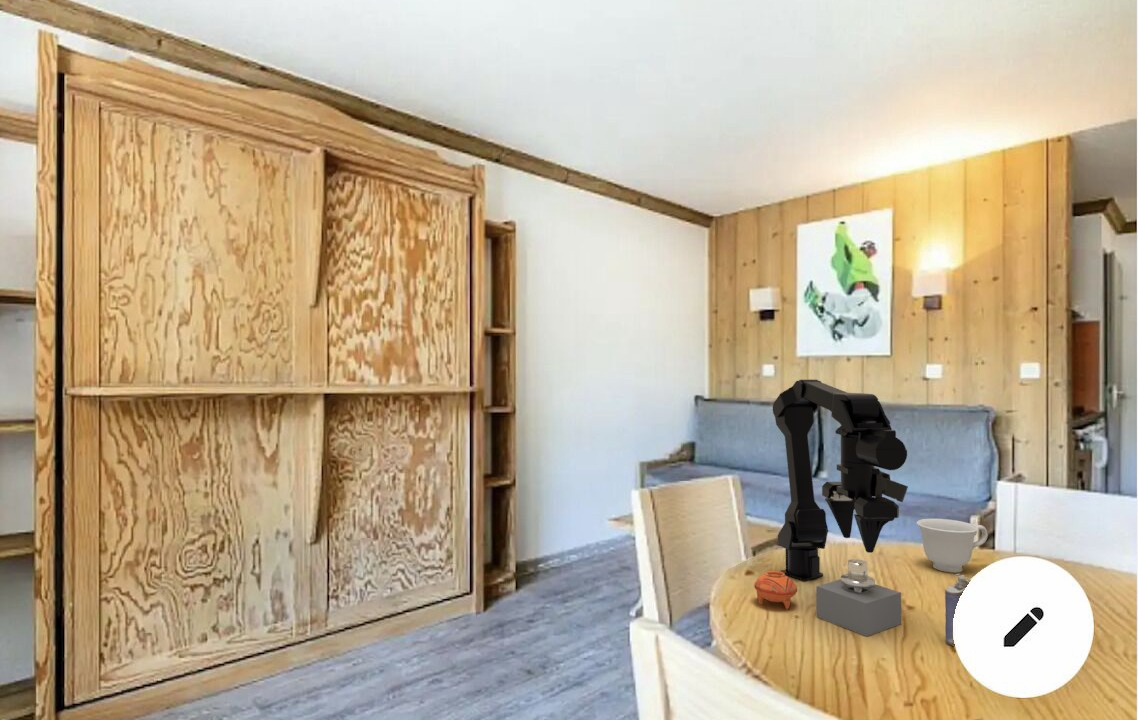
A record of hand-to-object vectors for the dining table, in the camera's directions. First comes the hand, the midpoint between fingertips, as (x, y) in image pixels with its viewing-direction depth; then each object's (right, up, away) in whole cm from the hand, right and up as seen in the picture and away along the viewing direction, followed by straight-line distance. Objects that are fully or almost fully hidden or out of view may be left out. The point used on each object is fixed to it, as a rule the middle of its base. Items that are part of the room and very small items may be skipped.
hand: (857, 544), depth 116 cm
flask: (+12, -13, -12) cm, 21 cm away
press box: (-2, -13, -4) cm, 13 cm away
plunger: (-2, -13, -4) cm, 13 cm away
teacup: (+34, -13, +25) cm, 44 cm away
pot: (-14, -13, +5) cm, 20 cm away
